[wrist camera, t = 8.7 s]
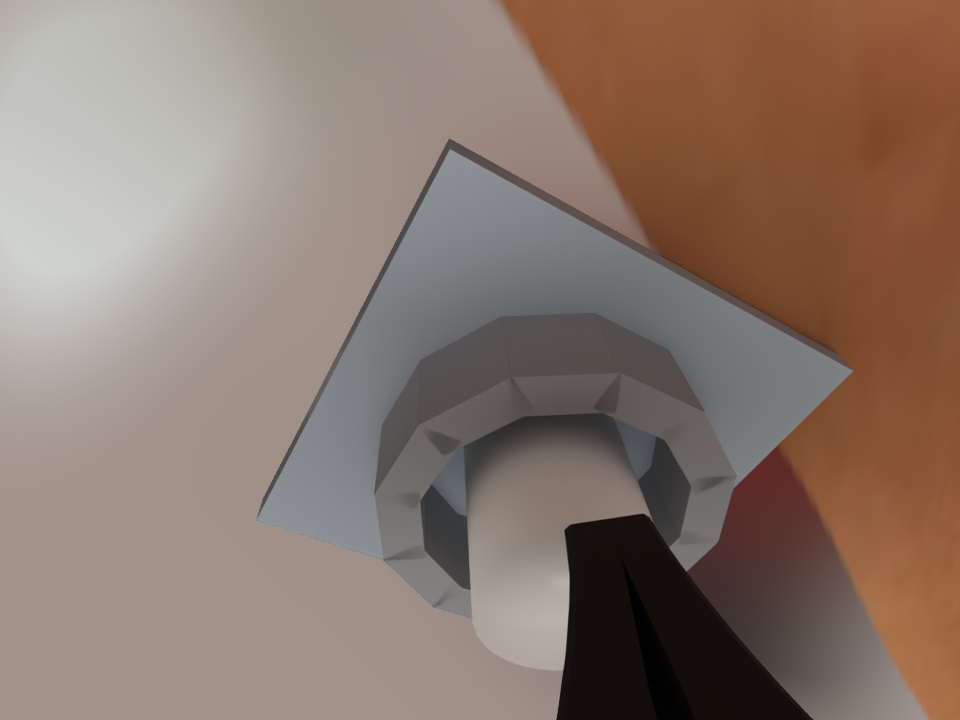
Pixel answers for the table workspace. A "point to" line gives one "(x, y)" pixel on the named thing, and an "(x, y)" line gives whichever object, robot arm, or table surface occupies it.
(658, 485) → the square flange mount
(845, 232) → the table surface
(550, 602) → the white rounded cylinder
